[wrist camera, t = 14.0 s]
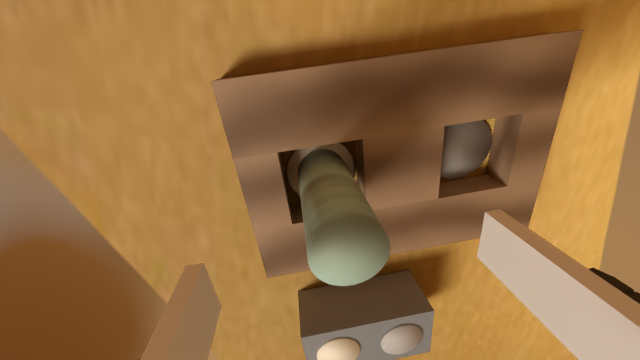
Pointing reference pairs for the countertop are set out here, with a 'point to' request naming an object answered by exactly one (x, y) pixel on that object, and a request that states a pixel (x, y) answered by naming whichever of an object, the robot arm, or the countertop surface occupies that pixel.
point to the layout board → (401, 137)
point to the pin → (339, 222)
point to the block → (366, 319)
